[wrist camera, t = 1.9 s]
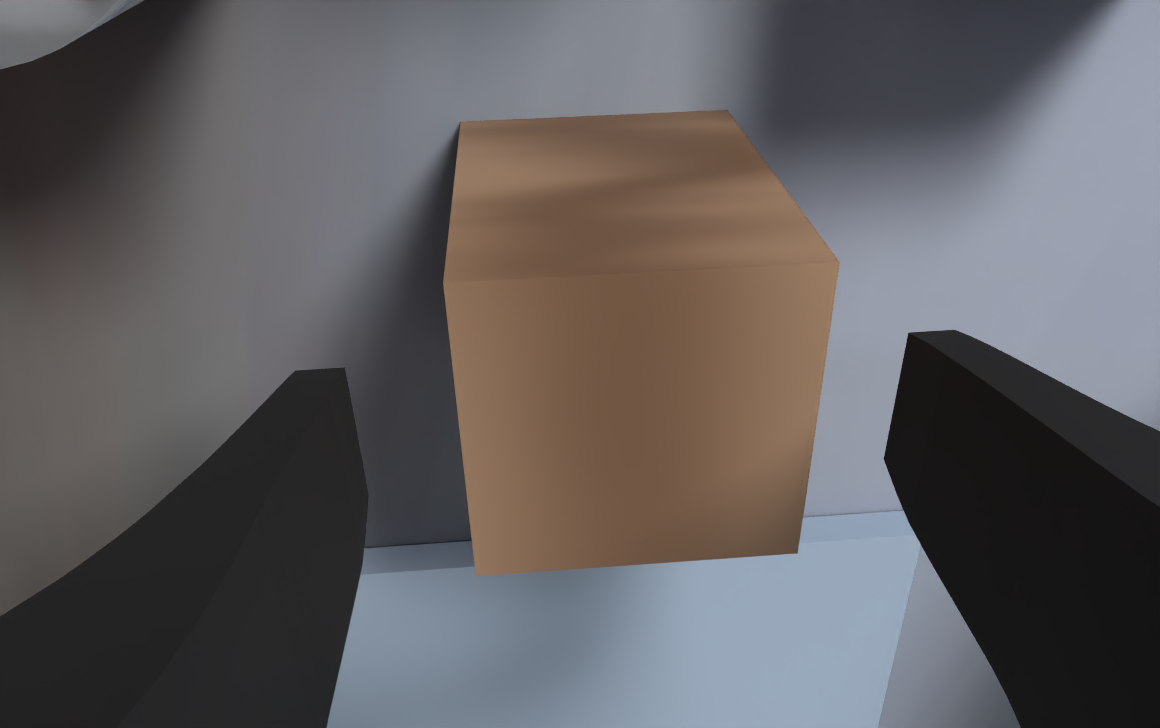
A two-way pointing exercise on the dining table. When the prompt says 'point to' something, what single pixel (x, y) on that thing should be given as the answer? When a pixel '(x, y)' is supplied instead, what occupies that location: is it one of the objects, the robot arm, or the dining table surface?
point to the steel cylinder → (50, 25)
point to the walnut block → (631, 342)
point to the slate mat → (632, 637)
